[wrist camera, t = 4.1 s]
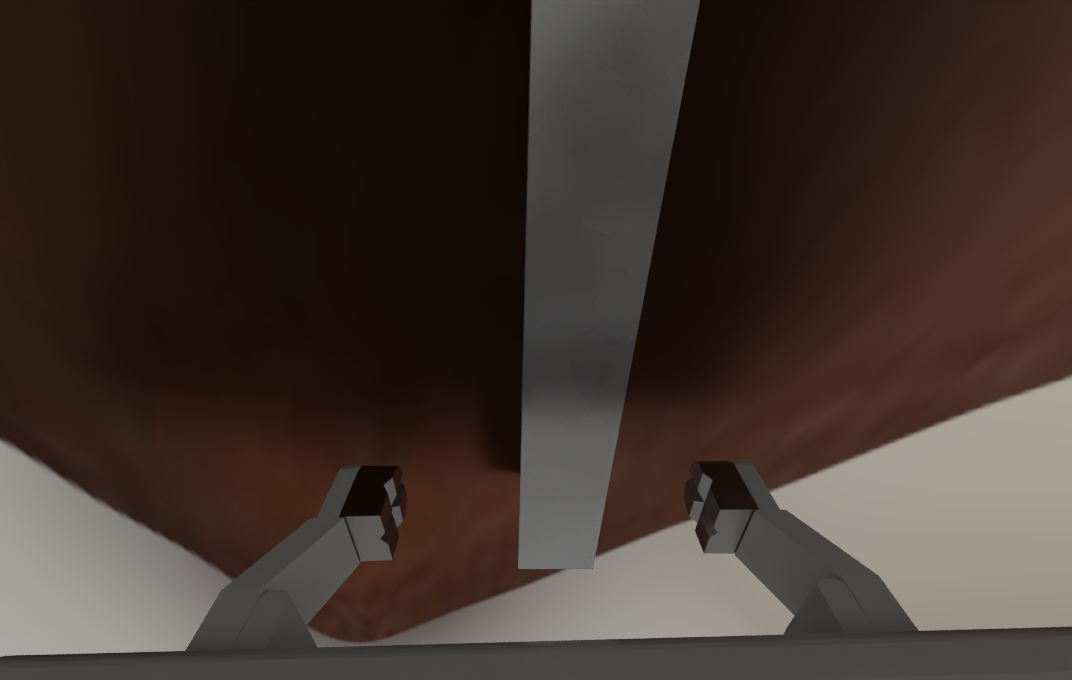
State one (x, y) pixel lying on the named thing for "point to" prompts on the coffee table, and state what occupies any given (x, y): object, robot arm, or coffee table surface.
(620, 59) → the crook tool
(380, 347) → the coffee table surface
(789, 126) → the coffee table surface
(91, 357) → the coffee table surface
